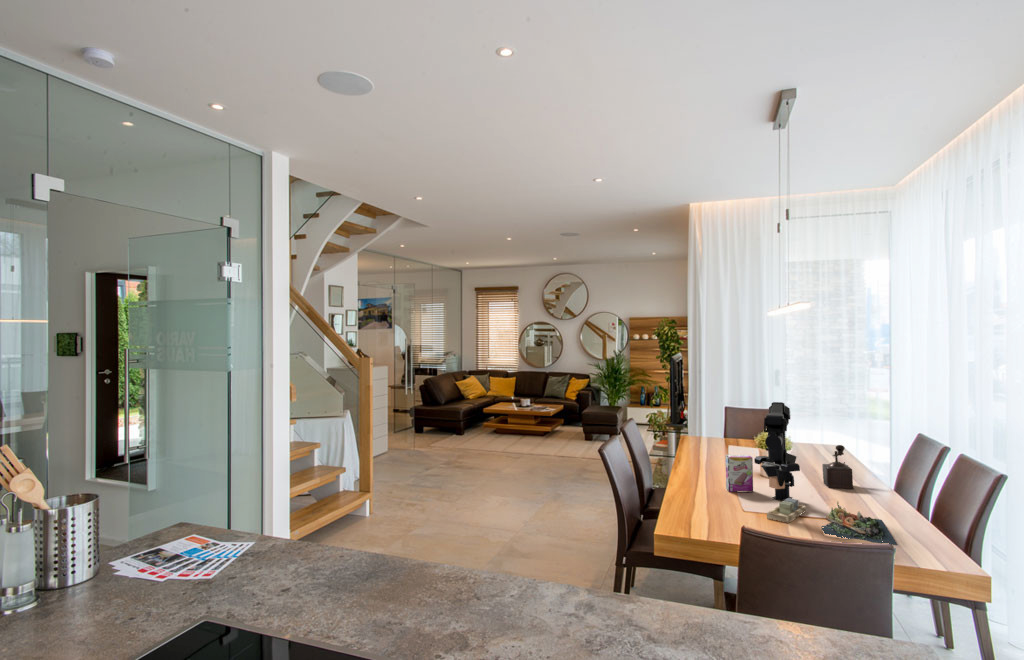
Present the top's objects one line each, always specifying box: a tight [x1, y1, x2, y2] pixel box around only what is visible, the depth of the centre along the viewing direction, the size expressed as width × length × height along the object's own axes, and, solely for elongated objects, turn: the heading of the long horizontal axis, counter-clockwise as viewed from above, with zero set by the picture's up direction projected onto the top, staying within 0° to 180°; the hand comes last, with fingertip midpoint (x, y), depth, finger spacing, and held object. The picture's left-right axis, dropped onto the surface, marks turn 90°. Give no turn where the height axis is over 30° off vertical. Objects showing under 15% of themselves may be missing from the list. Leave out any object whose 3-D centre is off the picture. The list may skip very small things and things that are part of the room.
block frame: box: [766, 498, 807, 524], centre depth 217 cm, size 19×8×5 cm, turn 133°
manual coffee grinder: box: [821, 444, 854, 490], centre depth 259 cm, size 16×11×18 cm
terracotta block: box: [768, 476, 785, 490], centre depth 218 cm, size 4×4×4 cm
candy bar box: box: [724, 454, 754, 493], centre depth 252 cm, size 11×5×16 cm, turn 84°
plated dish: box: [820, 502, 899, 546], centre depth 201 cm, size 35×28×7 cm
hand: (777, 485), depth 218 cm, fingers closed on terracotta block, 4 cm apart
